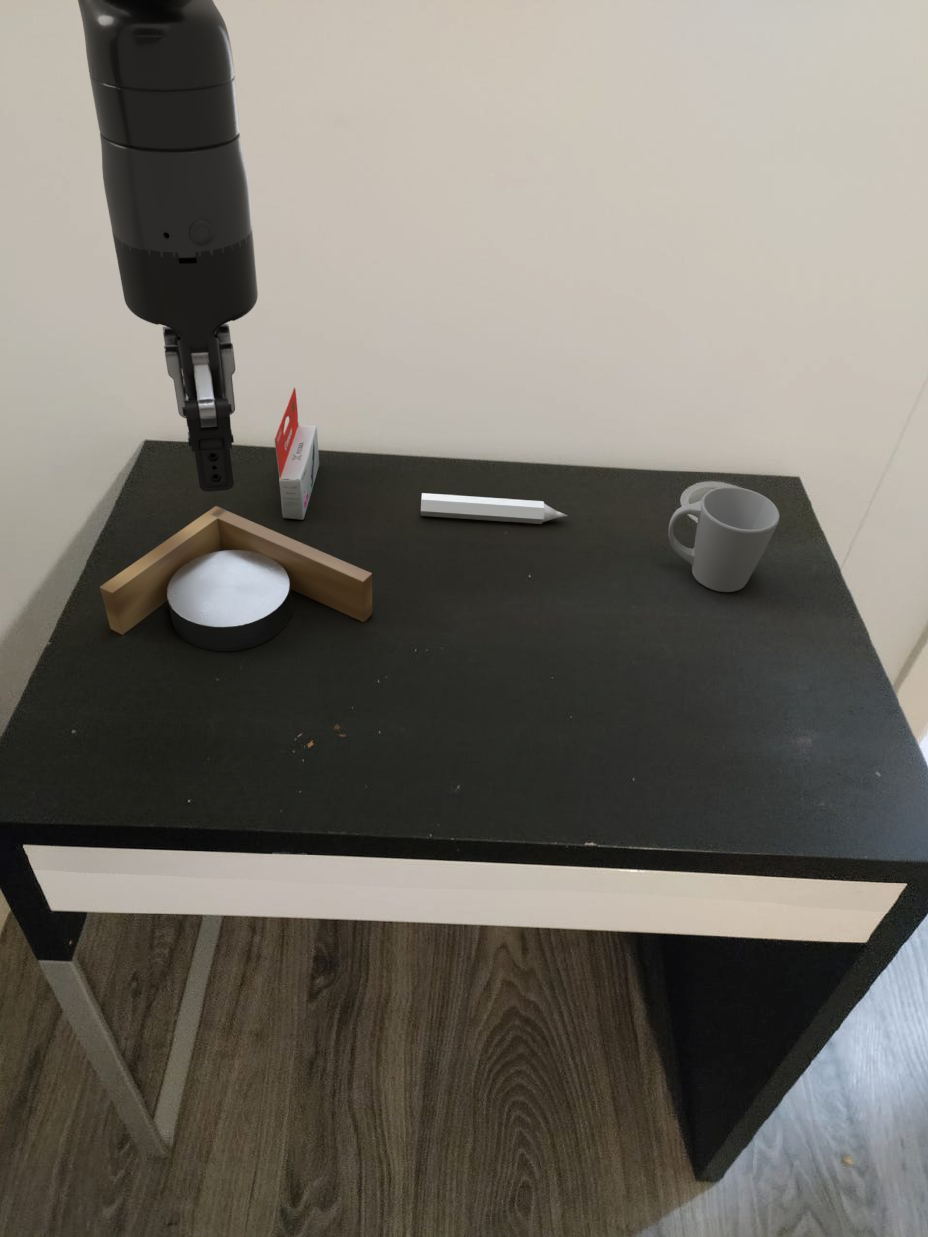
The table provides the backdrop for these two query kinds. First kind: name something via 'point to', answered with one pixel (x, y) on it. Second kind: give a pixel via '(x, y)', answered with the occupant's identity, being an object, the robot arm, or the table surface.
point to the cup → (727, 536)
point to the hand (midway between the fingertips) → (216, 484)
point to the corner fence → (223, 530)
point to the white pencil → (487, 508)
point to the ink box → (296, 462)
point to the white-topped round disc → (229, 600)
